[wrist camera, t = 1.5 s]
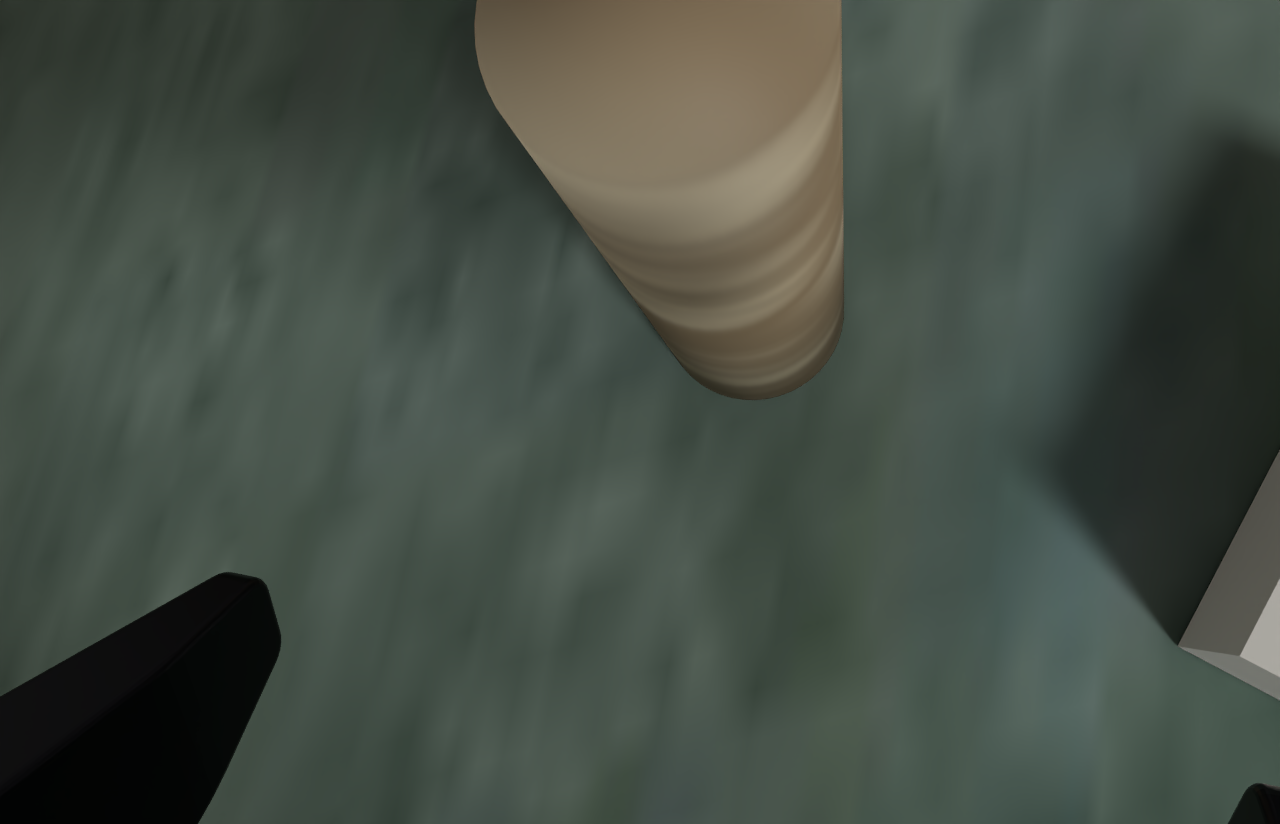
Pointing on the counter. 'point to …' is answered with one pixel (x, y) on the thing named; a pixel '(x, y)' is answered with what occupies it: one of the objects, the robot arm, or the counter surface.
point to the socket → (1245, 598)
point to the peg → (693, 165)
